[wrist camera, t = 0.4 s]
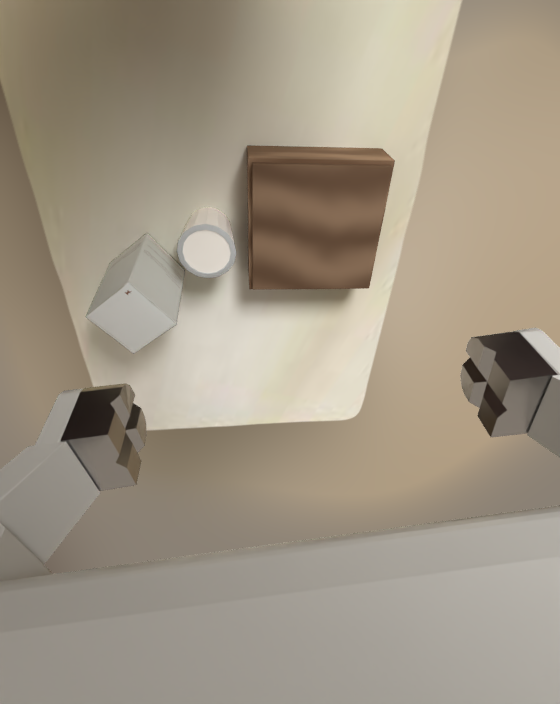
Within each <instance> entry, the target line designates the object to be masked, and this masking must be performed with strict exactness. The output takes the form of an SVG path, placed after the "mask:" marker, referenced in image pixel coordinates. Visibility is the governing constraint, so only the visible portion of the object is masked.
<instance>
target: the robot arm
mask: <svg viewBox="0 0 560 704" xmlns="http://www.w3.org/2000/svg"><path fill="white" fill-rule="evenodd" d="M466 352H467V353H468V355H469V356H470V358H469V359H468V360H467V361H466V362H465V363H464V364H463V365H462V370H461V385H462V389H463V392H464V394H465V396H466V398H467V399H468V401H469V402H470V403H472V404H474V405H475V406H477V407H479V408H480V409H479V412H478V417H479V419H480V421H481V422H482V424H483V426H484V427H485V429H486V430H487V432H488V434H489V435H490V436H491V437H499V436H507V435H517V434H525V433H528V434H527V435H528V436H529V437H531V438H532V439H534V440H535V441H537V442H538V443H539V444H541V445H542V446H544V447H545V448H547V449H548V450H549V451H551V452H552V453H554V454H555V455H557V456H558V457H560V348H559V347H558V346H557V345H556V344H555V343H554V342H553V341H552V340H551V339H550V338H549V337H548V336H547V335H546V334H545V333H544V332H543V331H542V330H540V329H538V328H531V329H524V330H517V331H513V332H506V333H499V334H492V335H485V336H478V337H471V339H470V340H469V342H468V344H467V348H466ZM134 397H135V394H134V392H133V390H132V388H131V386H130V385H128V384H117V385H108V386H99V387H90V388H84V389H76V390H67V391H63V392H62V393H60V394H59V395H58V397H57V399H56V401H55V403H54V406H53V407H52V410H51V412H50V414H49V416H48V418H47V420H46V422H45V425H44V427H43V429H42V431H41V433H40V435H39V437H38V439H37V442H36V444H35V446H28V447H27V448H26V449H24V450H23V451H22V452H21V453H19V454H18V455H17V456H16V457H15V458H13V459H12V460H11V461H10V462H9V463H7V464H6V465H5V466H4V467H2V468H1V469H0V704H560V505H559V506H551V507H545V508H538V509H530V510H522V511H515V512H507V513H500V514H493V515H486V516H478V517H471V518H464V519H456V520H449V521H442V522H434V523H427V524H419V525H412V526H405V527H397V528H390V529H383V530H376V531H369V532H361V533H353V534H346V535H338V536H331V537H324V538H317V539H309V540H302V541H294V542H287V543H279V544H272V545H265V546H258V547H250V548H243V549H236V550H228V551H221V552H213V553H206V554H198V555H191V556H184V557H176V558H169V559H162V560H154V561H147V562H140V563H132V564H125V565H117V566H110V567H102V568H95V569H88V570H80V571H73V572H65V573H58V574H53V573H52V572H51V571H50V570H49V569H48V568H47V567H46V566H45V565H44V564H45V563H46V562H47V560H48V559H49V558H50V557H51V555H52V554H53V553H54V551H55V550H56V549H57V548H58V546H59V545H60V544H61V543H62V541H63V540H64V539H65V537H66V536H67V535H68V533H69V532H70V531H71V530H72V528H73V527H74V526H75V525H76V523H77V522H78V520H79V519H80V518H81V517H82V516H83V514H84V513H85V512H86V511H87V509H88V508H89V507H90V505H91V504H92V503H93V501H94V500H95V499H96V497H98V495H99V494H100V491H103V490H109V489H115V488H121V487H128V486H134V485H136V484H137V479H138V474H139V470H140V465H141V460H140V457H139V455H138V452H139V451H140V450H141V449H142V448H143V447H144V446H145V441H146V421H145V417H144V414H143V412H142V409H141V408H140V407H138V406H137V405H135V404H133V401H134Z"/></svg>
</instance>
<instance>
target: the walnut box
mask: <svg viewBox="0 0 560 704" xmlns="http://www.w3.org/2000/svg"><path fill="white" fill-rule="evenodd" d="M394 162H395V161H394V160H393V159H392V158H391V157H390V156H389V155H388V154H387V153H386V152H385V151H384V150H383V149H380V148H334V147H288V146H247V179H248V273H249V289H350V288H369V286H370V281H371V276H372V271H373V266H374V261H375V256H376V251H377V246H378V241H379V236H380V231H381V226H382V221H383V217H384V212H385V207H386V202H387V197H388V192H389V187H390V182H391V177H392V172H393V167H394Z"/></svg>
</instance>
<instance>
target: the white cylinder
mask: <svg viewBox="0 0 560 704" xmlns="http://www.w3.org/2000/svg"><path fill="white" fill-rule="evenodd" d="M177 253H178V256H179V260H180V262H181V263H182V265H183V266H184V267H185V268H186V270H188V271H189V272H191V273H193V274H194V275H196V276H200V277H205V278H212V277H219V276H220V275H222V274H224V273H226V272H227V271H228V270H229V269H230V268H231V266H232V265H233V264H234V261H235V257H236V249H235V244H234V239H233V235H232V230H231V226H230V221H229V220H228V218H227V217H226V215H225V214H224V213H223V212H221V211H220V210H218V209H216V208H211V207H204V208H200V209H198V210H196V211H195V212H193V213H192V215H191V216H190V218H189V219H188V221H187V224H186V226H185V228H184V230H183V232H182V234H181V236H180V238H179V240H178V247H177Z"/></svg>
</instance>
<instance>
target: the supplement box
mask: <svg viewBox="0 0 560 704" xmlns="http://www.w3.org/2000/svg"><path fill="white" fill-rule="evenodd" d="M184 274H185V270H184V269H183V268H182V267H181V266H180V265H179V264H178V263H177V262H176V261H175V260H174V259H173V258H172V257H171V256H170V255H169V254H168V253H167V252H166V251H165V250H164V249H163V248H162V247H161V246H160V245H159V244H158V243H157V242H156V241H155V240H154V239H153V238H152V237H151V236H150V235H149V234H148V233H146V234H145V235H144V236H143V237H141V238H140V239H139V240H138V241H136V242H135V243H134V244H133V245H131V246H130V247H129V248H128V249H127V250H125V251H124V252H123V253H122V254H120V255H119V256H118V257H117V258H115V259H114V260H113V261H112V262H111V263H110V264H109V266H108V268H107V270H106V273H105V275H104V277H103V279H102V281H101V284H100V286H99V288H98V290H97V292H96V294H95V297H94V299H93V301H92V303H91V306H90V308H89V310H88V312H87V314H86V318H87V319H88V320H90V321H91V322H93V323H94V324H95V325H96V326H98V327H99V328H101V329H102V330H103V331H104V332H106V333H107V334H108V335H110V336H111V337H112V338H114V339H115V340H116V341H118V342H119V343H120V344H121V345H123V346H124V347H125V348H127V349H128V350H129V351H131V352H132V353H133V354H134V353H136V352H137V351H138V350H140V349H141V348H143V347H144V346H146V345H147V344H148V343H150V342H151V341H153V340H154V339H156V338H157V337H159V336H160V335H162V334H163V333H165V332H167V331H168V330H170V329H171V328H173V327H174V326H176V325H177V318H178V312H179V305H180V299H181V293H182V287H183V281H184Z"/></svg>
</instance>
